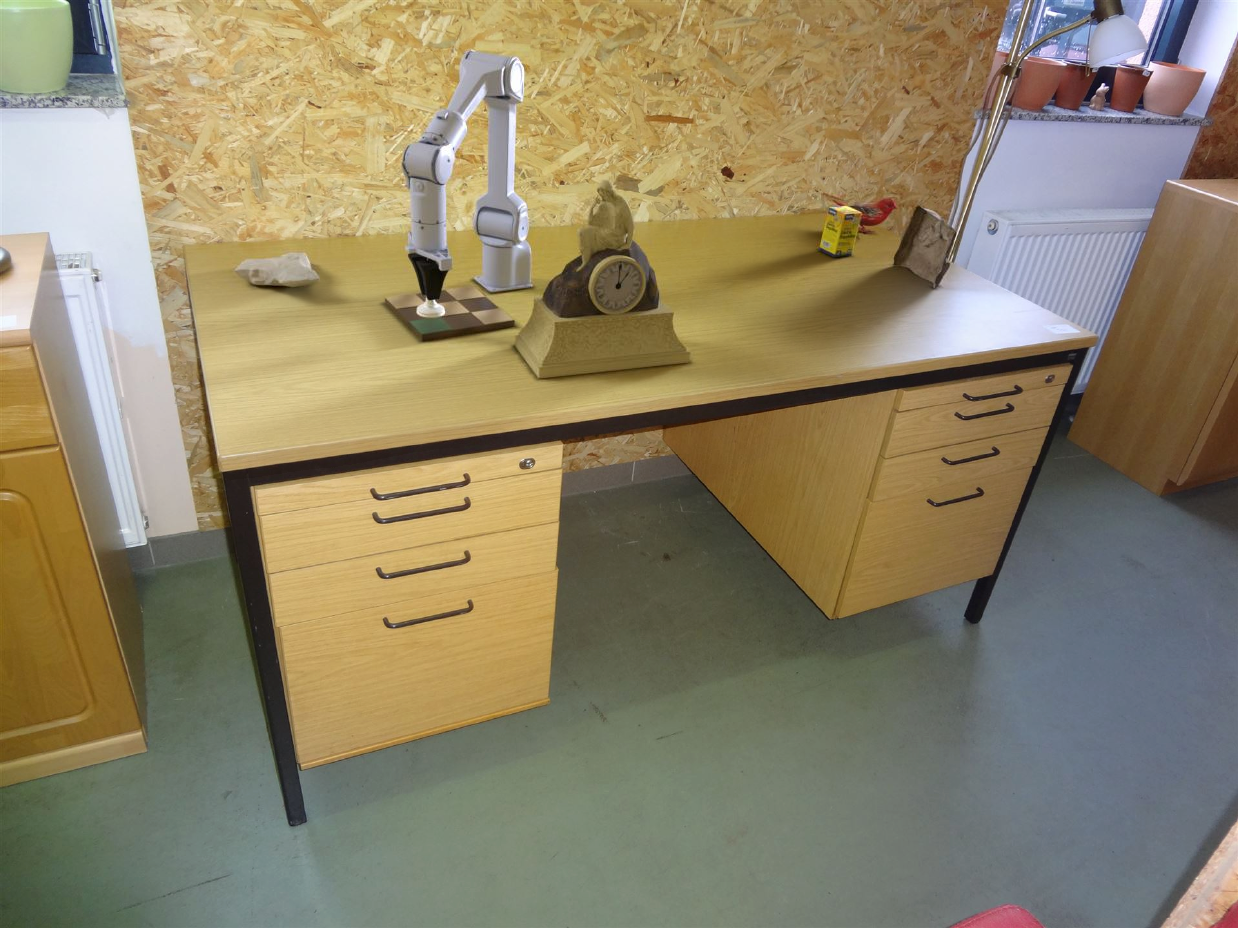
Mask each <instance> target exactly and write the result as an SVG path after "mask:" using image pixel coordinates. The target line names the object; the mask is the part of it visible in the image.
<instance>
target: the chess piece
mask: <svg viewBox="0 0 1238 928" xmlns="http://www.w3.org/2000/svg"><path fill="white" fill-rule="evenodd" d="M427 260H428V258H427ZM444 310H445V309H444V307H443V306H441V305H439V304H437V303H436V302H435V300H428V299H427V297H426V302H424V304H422V305H419V306H418V307H417V311H416V313H417V314H418V315H420V316H422V317H428V318H435V317H440V316H442V315H444V314H445V311H444Z"/></svg>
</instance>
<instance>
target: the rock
mask: <svg viewBox="0 0 1238 928" xmlns="http://www.w3.org/2000/svg"><path fill="white" fill-rule="evenodd" d="M234 273H235V274H236V275H237V276H238V277H241V278H242V279H244V280H245V281H248V282H250V283H251V284H252V285H257V286H276V287H277V286H278V287H290V288H296V287H297V288H298V287H305V286H307V287H308V286H311V285H314V284H318V283H320V276H319V275H318V274H317V272H316V271H315V270H314V269H312V265H311V262H310V259H309V257H308V255H307V253H306V252H304V251H303V252H289V253H283V254H282V255H281V256H277V257H269V258H247V259H244V260H243V261H242V262H241V264H239V265H238V266H237V267H236V268H235V269H234Z"/></svg>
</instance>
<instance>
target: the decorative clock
mask: <svg viewBox="0 0 1238 928" xmlns="http://www.w3.org/2000/svg"><path fill="white" fill-rule="evenodd" d="M596 191H597V195H596V196H595V198H593V201H592V202H591V204H590V206H589V209H588V213H587V217H586V224H587V225H582V226H580V227H579V228H577V240H578V254H580V255H579V256H577V257H575V258H574V259H572V260H570V261H569V262H567V264H565V266H564V268H563V269H562V271H561V273H559V274H558V275H555V276H554V277H553V278H552V279H551V280H550V281H549V282H548V283H547V286H546V287H545V290H544V291H543V294H542V296H541V297H534V298H533V307H532V312H531V315H530V317H529V319H528V321H527V323H526V324H525V325H524V326H523V327H522V328H521V330H519V332H518V334H517V335H515V339H514V347H515V349H516V350H517V351H518V352H519V353H520V355H521V357H522V358H523V359H524V360H525V362H526V363H527V364H528V366H529V367H530V369H531V370H532V372H533V373H534V374H535V375H536V377H537V379H549V378H556V377H567V376H575V375H576V376H577V375H584V374H585V375H586V374H593V373H594V374H595V373H603V372H612V371H622V370H631V369H640V368H651V367H659V366H660V367H661V366H669V365H677V364H686V363H687V364H688V363H689V362H690V356H691V351H690V350H689V349H688V348H687V347H685V345H684V344H683V343H682V342H681V341H680V339H679V338H678V335H677V333H676V331H675V329H674V314H675V312H674V311H673V310H672V309H670V307H668V306H667V305H666V304H665V303H664V302H662V301H661V300H660V290H659V286H658V281H657V277H656V273H655V270H654V268H653V267H652V266H651V264H650V262H649V259H648V256H647V255H646V253H645V252H644V251H643V249H642V248H641V246H640V245H638V243H637V242H636V241H634V240H633V239H634V235H635V232H636V225H635V220H634V215H633V211H632V208H631V206H630V204H629V202H628V200H627V199H626V198H624V197H623V196H621V195H620V194H619V193H617V191H616V190H615V186H614V183H613V182H612V181H611V180H609V179H602V180H601V181H599V183H598V184H597V187H596ZM599 196H600V197H601V200H600V198H598V197H599ZM597 205H598V206H597ZM596 206H597V208H596V210H595V211H594V209H595V207H596Z"/></svg>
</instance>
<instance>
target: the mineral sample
mask: <svg viewBox="0 0 1238 928" xmlns="http://www.w3.org/2000/svg"><path fill="white" fill-rule="evenodd" d="M957 233H958V231H957V230H956V229H955V228H954V227H952V226H951V224H948V223H946V222H945V219H944V218H943V217H942V216H940V214H938V213H937V212H936V211H934V210H932V209H929V208H925V207H922V206H921V205H916V206H915V209H914V210H913V212H912V216H910V218H909V223H908V225H907V226H906V227H905V230H904V231H903V235H902V236H901V237H900V244H899V246H898V248H897V250H896V252H895V254H894V257H893V263H892V266H893V267H895V266H901V267H906V268H908V269H909V270H910V271H911V272H913V273H914V274H916V275H917V276H919V277H920V278H923V279H925V280H928V281H929V282H931V283H933V286H932V287H933V289H935V288H936V287H938V286H939V285H940V283H941V282H942V280H943V278H944V276H945V275H946V274H947V272H948V270H949V269H950V267H951V263H950V261H949V259H948V256H949V254H950V251H951V249H952V248H953V246H954V243H955V240H956V238H957V237H956V236H957Z"/></svg>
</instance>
